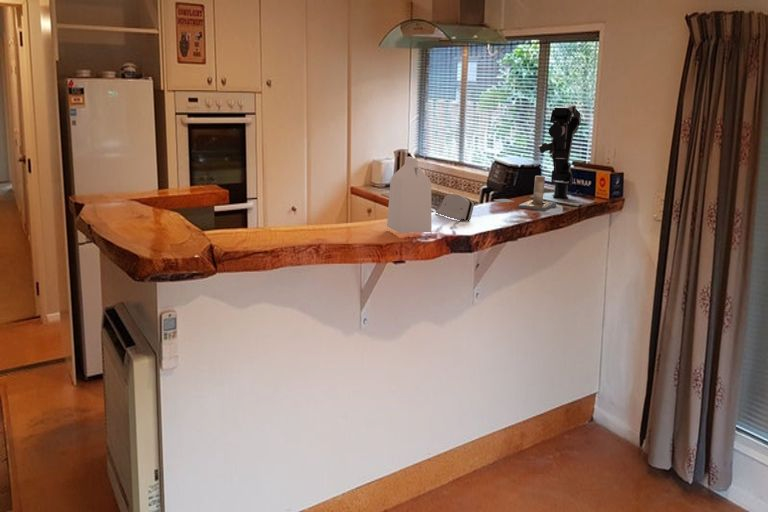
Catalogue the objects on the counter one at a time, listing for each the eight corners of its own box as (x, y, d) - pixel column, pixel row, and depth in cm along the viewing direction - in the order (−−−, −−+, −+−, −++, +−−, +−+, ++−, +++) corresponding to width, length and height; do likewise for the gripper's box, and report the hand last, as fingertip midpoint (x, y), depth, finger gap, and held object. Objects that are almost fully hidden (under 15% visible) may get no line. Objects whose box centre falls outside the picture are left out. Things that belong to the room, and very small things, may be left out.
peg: (530, 206, 290) (533, 175, 287) (538, 206, 292) (541, 175, 288) (536, 208, 286) (538, 177, 283) (544, 207, 288) (546, 177, 285)
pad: (505, 199, 305) (505, 198, 305) (514, 202, 299) (514, 201, 299) (492, 200, 302) (492, 199, 302) (501, 203, 296) (501, 202, 296)
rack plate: (531, 203, 298) (531, 199, 298) (556, 205, 293) (556, 202, 292) (518, 208, 285) (518, 204, 285) (543, 211, 280) (544, 207, 279)
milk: (386, 231, 238) (388, 155, 231) (416, 229, 242) (419, 155, 235) (400, 238, 227) (402, 160, 220) (431, 236, 231) (434, 159, 225)
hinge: (434, 214, 269) (443, 189, 268) (443, 217, 272) (452, 193, 271) (459, 222, 255) (468, 196, 254) (469, 225, 258) (477, 200, 257)
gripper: (539, 134, 305) (536, 169, 309) (541, 137, 287) (538, 174, 291) (564, 135, 303) (561, 170, 307) (569, 138, 286) (565, 175, 290)
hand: (556, 172), depth 299 cm, fingers open, 9 cm apart
